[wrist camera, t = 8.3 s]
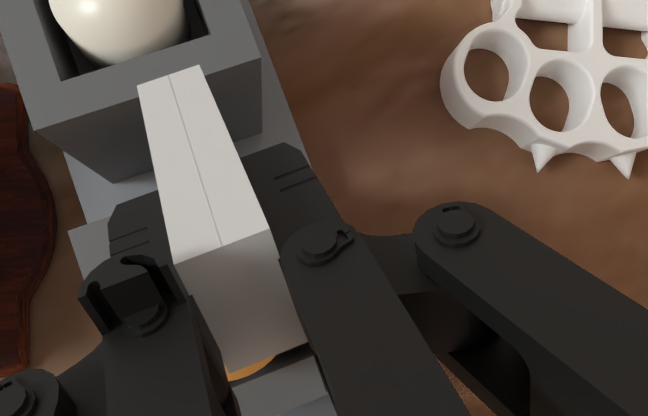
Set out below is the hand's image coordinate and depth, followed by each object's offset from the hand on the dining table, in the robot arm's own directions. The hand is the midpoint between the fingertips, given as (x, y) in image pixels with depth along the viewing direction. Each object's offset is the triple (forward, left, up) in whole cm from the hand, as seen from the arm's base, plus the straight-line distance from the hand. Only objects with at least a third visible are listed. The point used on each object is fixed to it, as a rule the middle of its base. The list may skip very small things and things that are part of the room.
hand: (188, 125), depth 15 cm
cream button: (+7, +5, -13) cm, 16 cm away
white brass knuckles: (+14, -20, -23) cm, 34 cm away
